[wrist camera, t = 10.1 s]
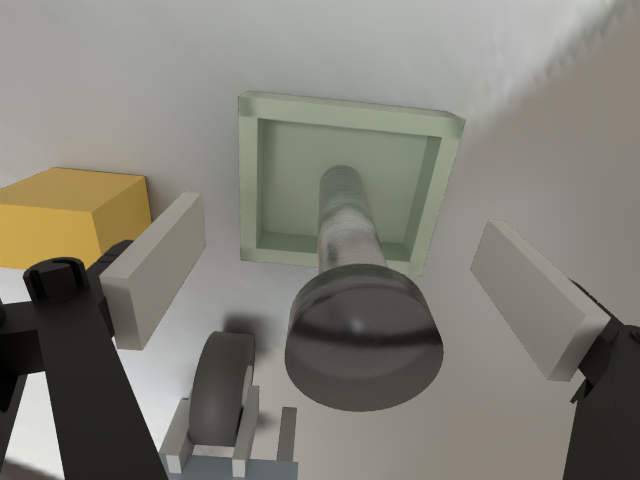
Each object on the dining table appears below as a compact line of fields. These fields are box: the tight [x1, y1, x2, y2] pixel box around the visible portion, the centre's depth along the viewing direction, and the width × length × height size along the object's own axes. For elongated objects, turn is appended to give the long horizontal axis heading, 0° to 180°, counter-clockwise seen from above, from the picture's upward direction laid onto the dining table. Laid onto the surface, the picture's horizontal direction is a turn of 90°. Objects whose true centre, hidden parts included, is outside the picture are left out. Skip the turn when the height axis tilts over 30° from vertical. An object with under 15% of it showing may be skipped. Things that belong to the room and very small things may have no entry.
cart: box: [158, 331, 298, 480], centre depth 26 cm, size 12×13×11 cm
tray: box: [238, 91, 466, 276], centre depth 22 cm, size 10×12×3 cm
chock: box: [0, 168, 152, 270], centre depth 21 cm, size 4×6×6 cm, turn 84°
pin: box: [285, 165, 444, 412], centre depth 16 cm, size 4×4×15 cm
